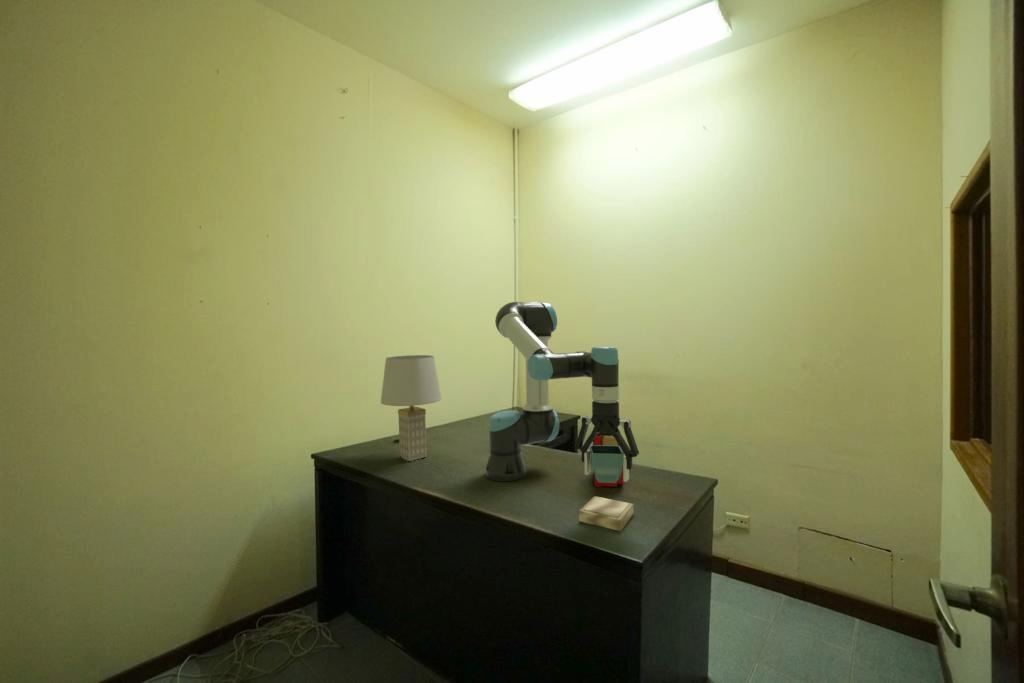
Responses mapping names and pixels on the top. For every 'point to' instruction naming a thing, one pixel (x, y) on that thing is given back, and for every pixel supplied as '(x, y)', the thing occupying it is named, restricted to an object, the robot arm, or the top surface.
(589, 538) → the top surface
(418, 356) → the lamp
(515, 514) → the top surface
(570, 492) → the top surface
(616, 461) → the flower pot
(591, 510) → the oak stand
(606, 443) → the red mechanical box
